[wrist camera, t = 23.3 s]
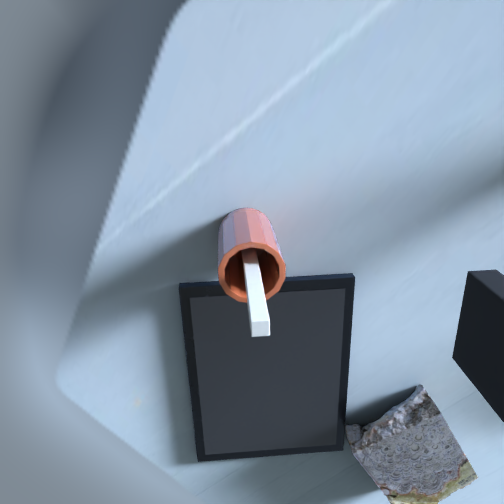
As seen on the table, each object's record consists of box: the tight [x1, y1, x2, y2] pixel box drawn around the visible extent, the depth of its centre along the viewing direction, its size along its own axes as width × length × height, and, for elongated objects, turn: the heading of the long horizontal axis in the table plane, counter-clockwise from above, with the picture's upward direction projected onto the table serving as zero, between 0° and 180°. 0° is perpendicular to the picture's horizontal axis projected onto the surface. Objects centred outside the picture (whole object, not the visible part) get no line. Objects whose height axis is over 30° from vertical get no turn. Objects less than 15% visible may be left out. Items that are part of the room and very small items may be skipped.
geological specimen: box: [345, 385, 478, 504], centre depth 53 cm, size 11×6×15 cm
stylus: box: [241, 247, 270, 337], centre depth 35 cm, size 1×1×16 cm
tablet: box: [179, 273, 355, 462], centre depth 50 cm, size 18×24×1 cm
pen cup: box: [218, 208, 285, 303], centre depth 39 cm, size 5×6×9 cm
